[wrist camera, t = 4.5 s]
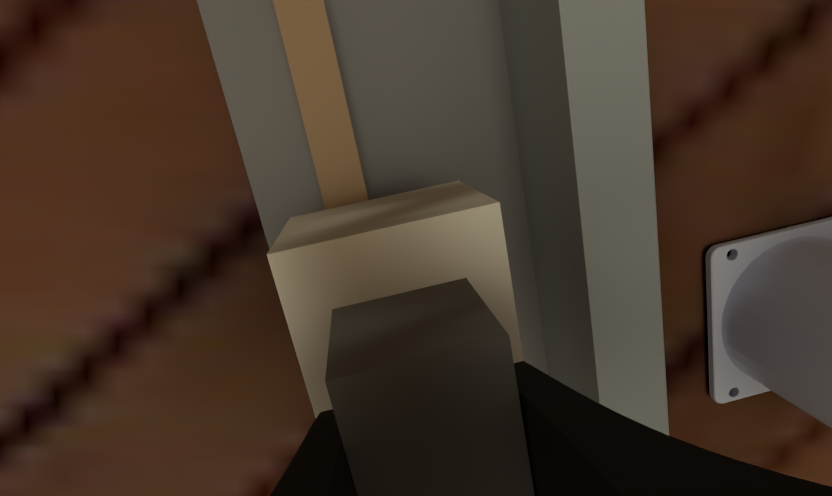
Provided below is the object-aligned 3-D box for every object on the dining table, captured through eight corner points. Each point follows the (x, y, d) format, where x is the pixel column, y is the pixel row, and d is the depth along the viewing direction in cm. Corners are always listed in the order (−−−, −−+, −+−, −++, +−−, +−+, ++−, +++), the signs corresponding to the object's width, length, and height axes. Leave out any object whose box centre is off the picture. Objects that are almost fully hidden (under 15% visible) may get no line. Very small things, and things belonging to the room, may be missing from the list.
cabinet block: (458, 180, 14) (557, 233, 7) (499, 411, 16) (603, 614, 10) (290, 217, 14) (231, 309, 7) (354, 448, 16) (357, 687, 9)
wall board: (554, -159, 17) (651, -292, 11) (617, 492, 24) (692, 594, 19) (173, -99, 15) (83, -214, 10) (364, 563, 23) (370, 693, 18)
